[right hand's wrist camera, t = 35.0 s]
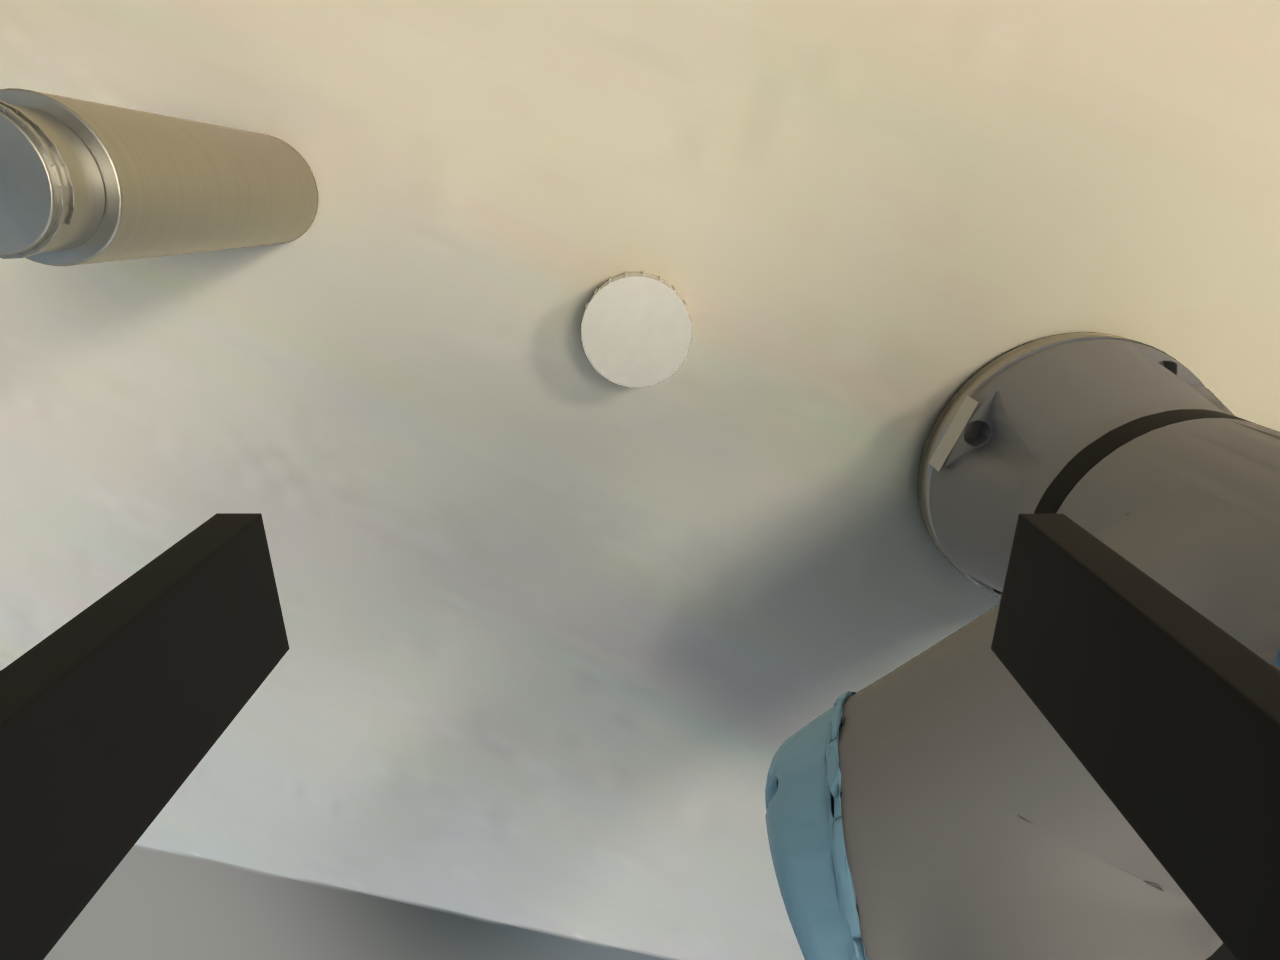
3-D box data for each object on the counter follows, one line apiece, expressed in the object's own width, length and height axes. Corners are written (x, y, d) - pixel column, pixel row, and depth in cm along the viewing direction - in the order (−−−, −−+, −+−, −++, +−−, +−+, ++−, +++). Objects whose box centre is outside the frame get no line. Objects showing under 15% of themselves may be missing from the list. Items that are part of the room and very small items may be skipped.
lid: (703, 289, 37) (707, 294, 35) (671, 390, 39) (673, 401, 37) (599, 257, 36) (596, 260, 34) (571, 361, 38) (567, 371, 36)
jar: (315, 253, 36) (74, 289, 21) (214, 231, 36) (-106, 250, 20) (321, 147, 34) (64, 101, 19) (215, 122, 34) (-135, 54, 19)
